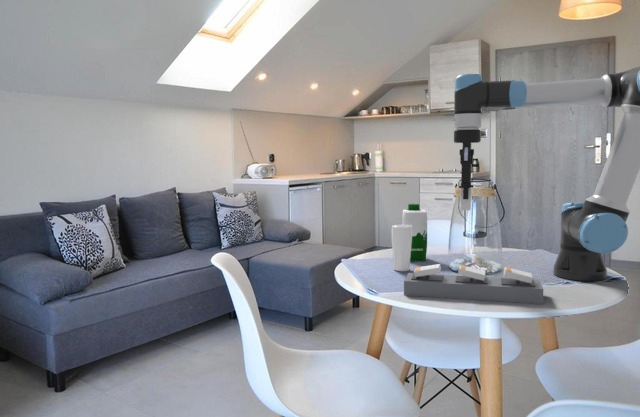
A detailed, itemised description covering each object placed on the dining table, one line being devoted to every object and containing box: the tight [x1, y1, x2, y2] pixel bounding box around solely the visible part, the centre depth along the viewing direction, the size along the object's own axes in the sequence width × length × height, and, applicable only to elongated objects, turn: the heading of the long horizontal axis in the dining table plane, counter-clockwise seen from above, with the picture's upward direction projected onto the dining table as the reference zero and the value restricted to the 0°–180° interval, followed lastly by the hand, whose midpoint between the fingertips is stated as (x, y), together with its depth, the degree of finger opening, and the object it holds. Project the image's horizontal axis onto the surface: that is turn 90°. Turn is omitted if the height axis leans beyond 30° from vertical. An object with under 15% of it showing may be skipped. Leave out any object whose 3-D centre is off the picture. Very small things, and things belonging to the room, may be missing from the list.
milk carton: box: [402, 203, 428, 262], centre depth 195 cm, size 9×9×20 cm
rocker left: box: [413, 263, 442, 277], centre depth 152 cm, size 7×5×2 cm
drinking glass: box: [391, 224, 412, 272], centre depth 178 cm, size 7×7×15 cm
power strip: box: [403, 272, 544, 305], centre depth 149 cm, size 36×10×5 cm, turn 73°
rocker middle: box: [457, 264, 486, 281], centre depth 148 cm, size 7×5×2 cm
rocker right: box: [503, 266, 534, 283], centre depth 145 cm, size 7×5×2 cm
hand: (465, 209), depth 158 cm, fingers closed
